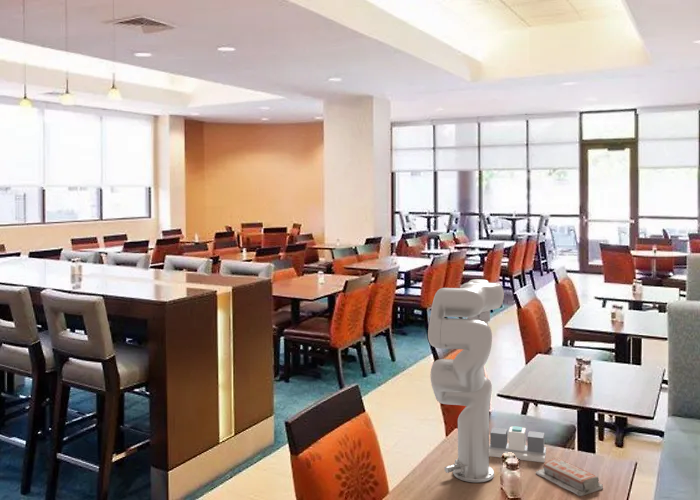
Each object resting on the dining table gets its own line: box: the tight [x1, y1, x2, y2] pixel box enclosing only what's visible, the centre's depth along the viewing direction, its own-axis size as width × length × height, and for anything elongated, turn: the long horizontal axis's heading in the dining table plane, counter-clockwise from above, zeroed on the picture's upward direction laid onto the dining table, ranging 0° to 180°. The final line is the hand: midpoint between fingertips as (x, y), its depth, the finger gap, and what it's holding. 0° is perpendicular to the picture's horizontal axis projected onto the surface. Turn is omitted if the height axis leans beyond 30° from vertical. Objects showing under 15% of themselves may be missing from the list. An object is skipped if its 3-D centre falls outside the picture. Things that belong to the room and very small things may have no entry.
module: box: [508, 425, 527, 451], centre depth 221 cm, size 5×5×7 cm
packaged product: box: [535, 457, 604, 497], centre depth 200 cm, size 18×5×10 cm
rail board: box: [489, 426, 547, 463], centre depth 221 cm, size 18×9×7 cm, turn 70°
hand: (478, 365), depth 226 cm, fingers open, 9 cm apart
